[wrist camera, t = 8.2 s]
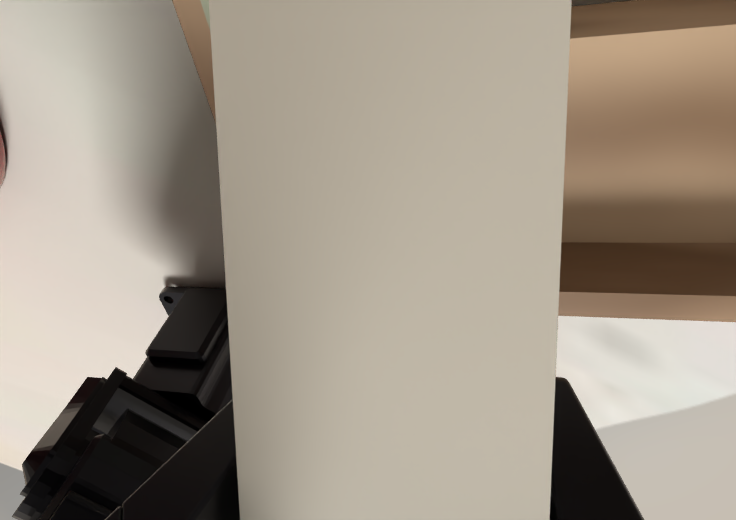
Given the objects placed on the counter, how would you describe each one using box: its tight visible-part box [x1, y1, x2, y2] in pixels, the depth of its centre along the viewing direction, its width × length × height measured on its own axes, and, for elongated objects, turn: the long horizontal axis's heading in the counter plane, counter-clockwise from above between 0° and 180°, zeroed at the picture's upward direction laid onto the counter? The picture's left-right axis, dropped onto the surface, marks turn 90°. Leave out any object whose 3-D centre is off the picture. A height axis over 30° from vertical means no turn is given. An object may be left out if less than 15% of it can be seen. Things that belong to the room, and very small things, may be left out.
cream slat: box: [209, 0, 572, 520], centre depth 8 cm, size 11×4×2 cm, turn 9°
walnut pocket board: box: [172, 0, 736, 322], centre depth 15 cm, size 15×16×5 cm
